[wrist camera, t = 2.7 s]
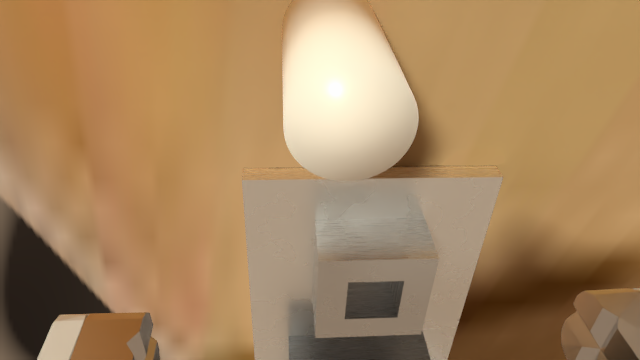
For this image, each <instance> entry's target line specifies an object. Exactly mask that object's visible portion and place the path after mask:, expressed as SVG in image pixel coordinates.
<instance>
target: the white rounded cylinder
mask: <svg viewBox="0 0 640 360" xmlns="http://www.w3.org/2000/svg"><path fill="white" fill-rule="evenodd" d="M282 71H283V128H284V137H285V141H286V144H287V146H288V149H289V151H290V152H291V154H292V156H293V157H294V158H295V159H296V161H297V162H298V163H299V164H300V165H301V166H303V167H304V168H305V169H307V170H308V171H309V172H311V173H313V174H315V175H317V176H320V177H322V178H326V179H329V180H335V181H357V180H363V179H367V178H370V177H373V176H376V175H378V174H380V173H382V172H384V171H386V170H387V169H389V168H390V167H392V166H393V165H394V164H396V163H397V162H398V161H399V160H400V159H401V158H402V157H403V156H404V155H405V154H406V152H407V151H408V149H409V148H410V146H411V144H412V143H413V141H414V138H415V136H416V132H417V128H418V121H419V116H418V108H417V103H416V100H415V98H414V95H413V93H412V91H411V89H410V87H409V85H408V83H407V81H406V79H405V76H404V74H403V72H402V70H401V68H400V66H399V64H398V62H397V60H396V57H395V55H394V53H393V51H392V49H391V47H390V45H389V43H388V41H387V39H386V36H385V34H384V32H383V30H382V28H381V26H380V24H379V22H378V20H377V18H376V15H375V13H374V11H373V9H372V7H371V5H370V4H369V2H368V1H367V0H293V1H292V2H291V3H290V5H289V6H288V8H287V10H286V12H285V15H284V18H283V23H282Z"/></svg>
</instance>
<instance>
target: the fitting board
mask: <svg viewBox="0 0 640 360" xmlns="http://www.w3.org/2000/svg"><path fill="white" fill-rule="evenodd" d="M502 180H503V176H502V174H501V173H500V171H499V169H498V168H497V166H424V167H390V168H389V169H387V170H386V171H384V172H382V173H380V174H378V175H376V176H373V177H370V178H367V179H363V180H357V181H335V180H329V179H326V178H322V177H320V176H317V175H315V174H313V173H311V172H309V171H308V170H307V169H305V168H243V176H242V186H243V200H244V214H245V228H246V242H247V256H248V270H249V284H250V298H251V312H252V326H253V340H254V354H255V360H447V359H448V356H449V353H450V349H451V346H452V343H453V339H454V336H455V333H456V330H457V326H458V323H459V320H460V317H461V313H462V310H463V307H464V304H465V300H466V297H467V294H468V291H469V287H470V284H471V281H472V277H473V274H474V271H475V268H476V264H477V261H478V258H479V255H480V251H481V248H482V245H483V242H484V238H485V235H486V232H487V229H488V225H489V222H490V219H491V216H492V212H493V209H494V206H495V202H496V199H497V196H498V193H499V189H500V186H501V183H502Z"/></svg>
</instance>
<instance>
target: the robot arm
mask: <svg viewBox="0 0 640 360" xmlns="http://www.w3.org/2000/svg"><path fill="white" fill-rule="evenodd" d="M573 305H574V307H575V309H576V312H575V313H573V314H572V315H571V316H569V317H568V318H567V319H566V320H565V322H564V325H563V327H562V329H561V345H562V348H563V351H564V354H565V356H566V358H567V360H640V288H633V289H631V288H622V289H605V290H589V291H583V292H581V293H580V294H578V295H577V297H576V299H575V301H574V303H573ZM152 328H153V323H152V319H151V316H150V313H146V312H145V313H104V314H103V313H102V314H101V313H100V314H75V315H60V316H59V317H58V318H57V319H56V320H55V321H54V322H53V324H52V326H51V328H50V331H49V333H48V335H47V338H46V340H45V342H44V345H43V347H42V349H41V352H40V354H39V356H38V359H37V360H160V356H159V347H158V343H157V340H155V339H154V338H152V337H151V332H152Z"/></svg>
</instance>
